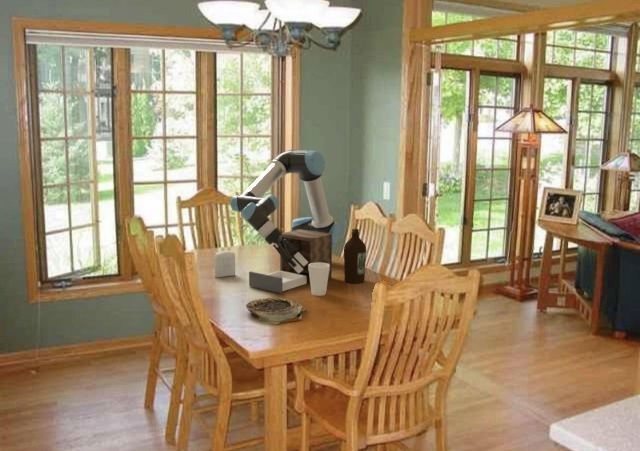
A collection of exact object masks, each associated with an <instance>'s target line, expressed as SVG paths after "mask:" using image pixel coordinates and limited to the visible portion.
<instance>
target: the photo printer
mask: <svg viewBox="0 0 640 451" xmlns="http://www.w3.org/2000/svg"><path fill="white" fill-rule="evenodd" d="M234 276H236V254H235V252H234V251H232V250H222V251H219V252H216V253H215V254H214V277H215V278H223V277H234Z"/></svg>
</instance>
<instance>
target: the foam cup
mask: <svg viewBox="0 0 640 451" xmlns="http://www.w3.org/2000/svg"><path fill="white" fill-rule="evenodd" d="M308 271H309V274H308V275H309V284H310V292H311V295H312V296H318V297H321V296H325V295H327V294H326V293H327V287H328V282H329V281H328V280H329V279H328V275H329V271H330V264H327V263H310V264H309V265H308Z"/></svg>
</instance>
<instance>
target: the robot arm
mask: <svg viewBox="0 0 640 451" xmlns="http://www.w3.org/2000/svg"><path fill="white" fill-rule="evenodd" d="M325 165H326V161H325V157H324V155H323V154H322V153H321V152H320V151H318V150H314V149H309V150H308V149H307V150H306V149H287V150H286V151H283V152H282V153H280V154H278V155H277V156H275V157H274V158H273V159H272V160H271V161H270V162H269V163H268V167H267V168H266V169H265V170H264V171H262V173H261V174H260V175H259V176H258V177H257V178H256V179H255V180H254V181H253V182H252V183H251V184H250V185H249V186H248V187H247V188H246V189H245V190H244V191H243V192H242V193H241V194H236V195H233V196H232V197H231V199H230V202H229V204H230V208H231V210H232V211H233V212H236V213H237V212H239V213H240V214H241V216H242V217H243V219H245V221H246V222H247V223H248V224H249V225H250V226H251V227H252V228H253V229H254V230H255V231H256V232H257V233H258V236H261V237H262V238H264V240H265V242H266V243H267V244H268V245H272V244H273V245H272V247H273V248H274V249H275V250H276V251H277V253H278V254H279V256H280V255H281V257H282V258H283V260H284V261H285V263H286V264H287V263H289V264H290V265H291V266H292V267H293V268H294V269H295V270H296V271H297V273H296V274H300V273H302V272H301V271H302V270H303V268H302V267H301V266H300V265H299V264H298V263H297V262H296V261H295V260H294V259H292V258H291V256H290V254H289V253H288V252H290V253H292V254H293V255H294V257H295V258H296V259H297V260H298V261H299V262H300V263H301V264H302V265H303V266H305V265H306V264H307V263H308V261H307V260H306V259H305V258H304V257H303V256H302V255H301V254H300V253H299V252H298V251H299V249H297V248H296V247H295V246H293V245H292V244H291V243H290V242H288V241H287V240H286V239H285V238H284V237H283V236H282V237H280V235H281V234H282V233H283V232H282V231H281V229H279V228H278V227H276V225H275V223H273V222H272V221H271V220H270V219H269V216H270V215H271V214H272V213H274V212H275V211H276V210H277V209H278V207H279V205H280V202H279V199H278V197H277V196H276V195H274V194H271V193H270V194H267V195H265V194H266V193H267V192H268V191H269V190H270V189H271V188H272V187H273V186H274V185H275V183H277V181H278V180H279V179H280V178H283V177H285V176H286V175H287V174H298V177H299V180H300V181H302V182H303V184H304V188H305V191H306V192H305V193H306V196H307V199H308V203H309V208H310V211H311V215H312V217H311V216H307V217H305V216H304V217H297V218H294V219H293V220H292V222H291V231H294V230H299V229H302V230H309V231H316V232H322V233H329V234H332V246H333V245H335V244H336V243H337V242H338V240H339V238H340V234H341V226H340V224H339V223H338V222H335V221H334V217H333V216H332V215H330V212H329V207H328V204H327V198H326V196H325V195H326V194H325V191H324V187H323V182H322V179H321V178H322V176H323V174H324V171H325V169H326V166H325ZM264 195H265V196H264Z"/></svg>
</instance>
